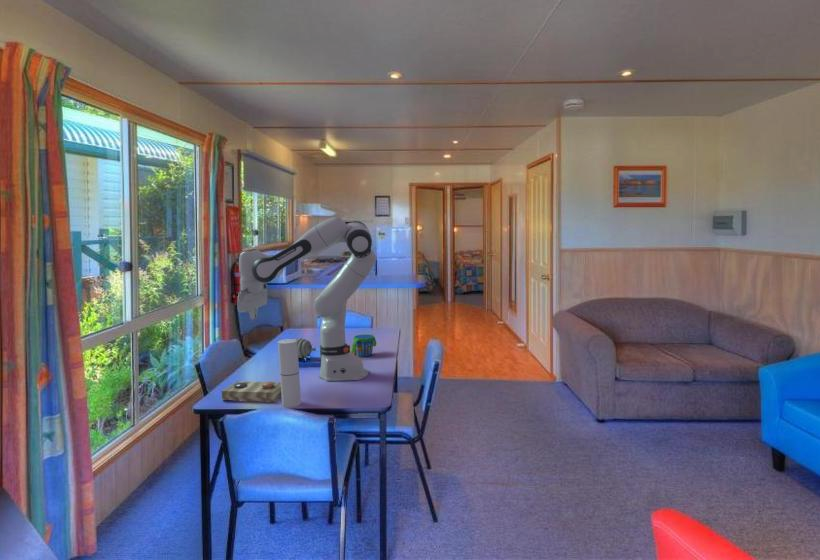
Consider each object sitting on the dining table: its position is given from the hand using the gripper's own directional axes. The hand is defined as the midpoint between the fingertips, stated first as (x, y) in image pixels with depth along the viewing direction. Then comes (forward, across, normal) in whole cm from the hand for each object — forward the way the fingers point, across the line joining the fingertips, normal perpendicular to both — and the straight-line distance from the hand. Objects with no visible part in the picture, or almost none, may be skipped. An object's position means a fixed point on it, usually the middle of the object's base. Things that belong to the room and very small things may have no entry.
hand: (253, 318), depth 220 cm
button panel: (+29, -15, -6) cm, 33 cm away
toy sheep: (+29, +38, -4) cm, 48 cm away
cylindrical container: (+29, -22, -25) cm, 44 cm away
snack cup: (+29, +48, -35) cm, 66 cm away
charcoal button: (+29, -15, 0) cm, 32 cm away
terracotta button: (+28, -15, -12) cm, 34 cm away
